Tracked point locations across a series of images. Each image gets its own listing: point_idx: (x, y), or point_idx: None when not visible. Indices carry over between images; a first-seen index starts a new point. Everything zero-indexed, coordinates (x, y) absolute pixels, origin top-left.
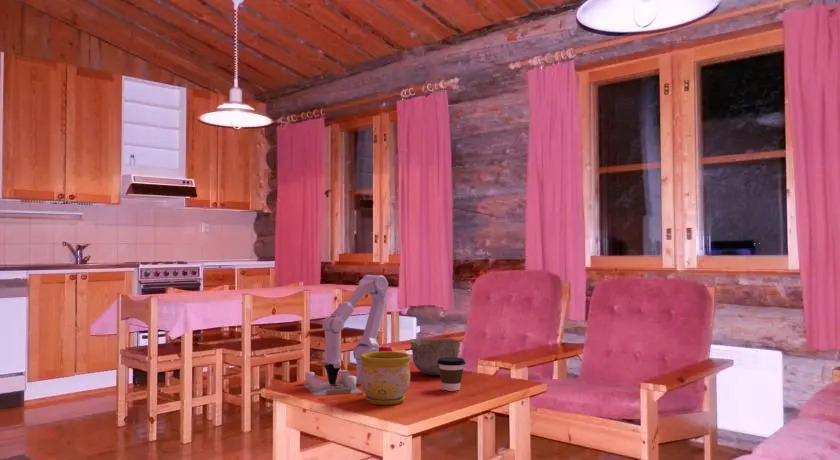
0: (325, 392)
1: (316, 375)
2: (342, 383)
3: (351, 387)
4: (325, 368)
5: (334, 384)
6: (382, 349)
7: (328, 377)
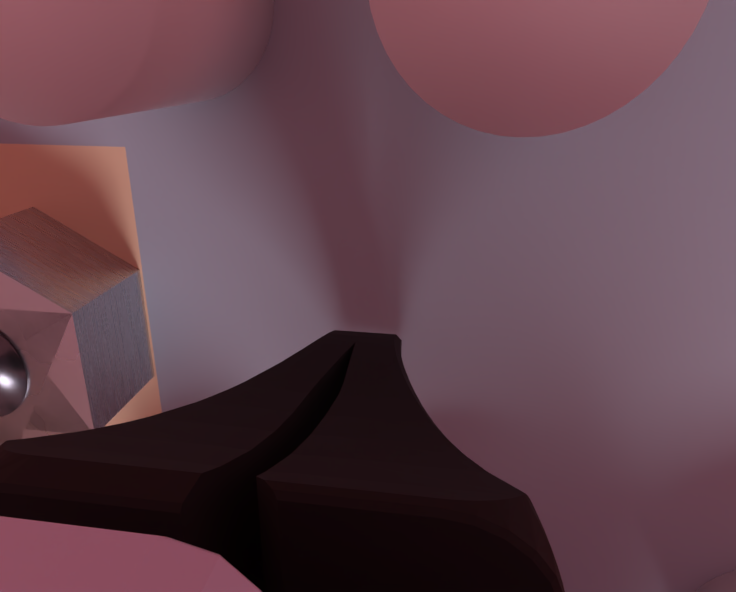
0: (22, 135)
1: (579, 87)
2: (665, 587)
3: None
4: (445, 470)
5: (30, 349)
6: None
7: (348, 374)
